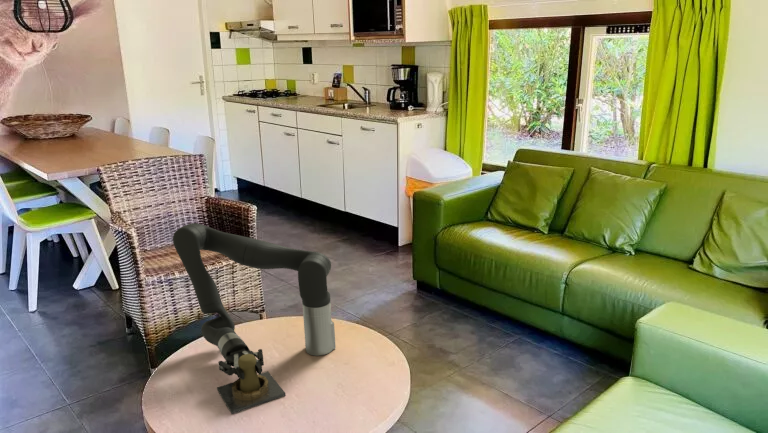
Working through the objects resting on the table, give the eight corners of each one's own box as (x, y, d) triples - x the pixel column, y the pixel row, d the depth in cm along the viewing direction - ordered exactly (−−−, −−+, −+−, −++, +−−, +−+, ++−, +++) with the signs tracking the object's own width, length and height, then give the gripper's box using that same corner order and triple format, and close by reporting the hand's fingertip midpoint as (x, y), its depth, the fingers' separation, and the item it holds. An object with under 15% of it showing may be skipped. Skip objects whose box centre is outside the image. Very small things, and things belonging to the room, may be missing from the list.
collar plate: (268, 374, 180) (267, 365, 179) (285, 395, 169) (284, 386, 168) (217, 390, 172) (216, 381, 171) (231, 414, 161) (230, 405, 160)
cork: (255, 396, 167) (251, 362, 164) (236, 394, 168) (232, 360, 165) (264, 384, 172) (260, 351, 169) (245, 383, 174) (241, 350, 171)
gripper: (209, 344, 175) (225, 370, 161) (254, 331, 182) (274, 355, 168) (211, 366, 177) (228, 393, 163) (256, 352, 184) (276, 377, 170)
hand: (251, 373), depth 166 cm, fingers open, 4 cm apart
